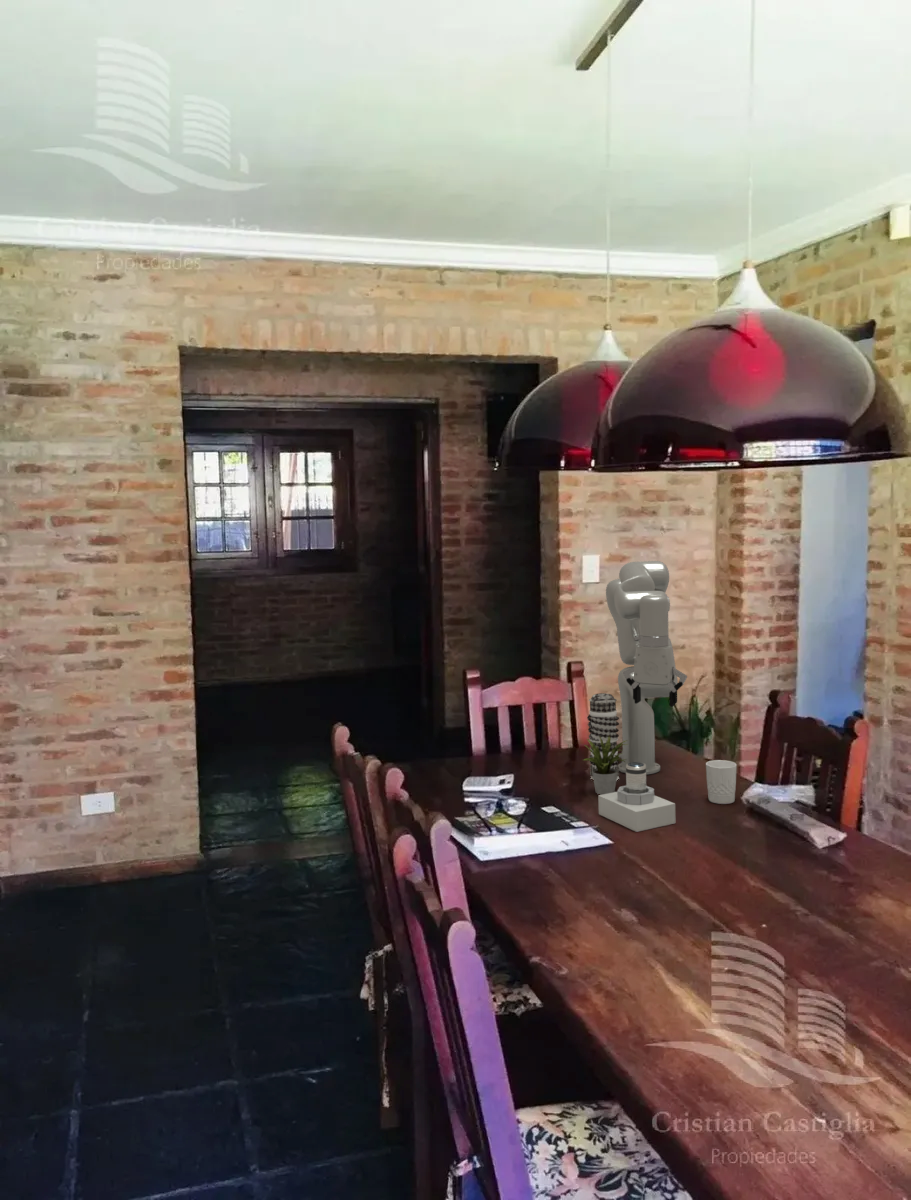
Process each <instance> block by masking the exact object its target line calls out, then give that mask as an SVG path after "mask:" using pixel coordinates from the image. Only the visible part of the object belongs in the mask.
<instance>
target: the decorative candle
mask: <svg viewBox="0 0 911 1200" xmlns="http://www.w3.org/2000/svg"><path fill="white" fill-rule="evenodd" d="M617 700H618V699H617V698H615V697H614V696H613V695H612V694H611V693H608V692H607V693H605V692H604V693H603V692H601V693H595V694H593V695H592V696H591V698H590V699H588V701H589V707H590V708H589V714H587V715H588V716H587V718H586V719H587V721H588V723H587V726H588V729H587V730H588V733H589V735H588V739H589V740H590V741H591V742H592V743H593V744H594V745H595V746H596V748H597V746H598V748H599V752H600V754H601V758H602V760H603V754H602V746H601V740H600V737H601V739H602V741H603V744H604V747H605V744H606V742H607V740H608V736H610V737H611V740H610V743H611V746H610V749H609V750H611V749H613V748H615V747H616V746H617V745H618V741H619V738H618V737H619V734H618V733H619V732H620V730H619V728H617V726H619V725H620V723H619V722H618V720H619V719H620V718H619V717H618V716H617V715H618V714H617V705H616V704H617V703H616V702H617ZM599 736H600V737H599ZM590 749H591V750H592V751H593V749H592V747H591V746H590ZM612 751H613V750H612ZM612 751H611V752H612ZM611 752H609V753H608V756H609V755H610V754H611ZM618 752H619V751H616V753H615V754H614V755H618V754H619V753H618ZM612 755H613V754H612ZM591 757H592V758H594V755H593V754H592V752H591V751H590V755H589V758H591ZM613 757H615V756H613ZM618 757H619V756H618ZM610 759H611V758H610ZM609 761H610V760H609ZM618 762H619V763H620V761H615V762H614V763H613V764H612V765H611V767H610V768H613V769H616V770H617V779H616V782H618V781H619V780H620V777H619V776H620V771H619V766H618V765H619V763H618ZM589 763H590V766H589V769H590V771H589V775H590V777H591V778H590V780H591V779H593V775H592V770H593V769H596V768H597V767H596V765H595V764H594V763H593V762H592V761H589ZM608 763H609V762H608ZM618 779H619V780H618ZM617 780H618V781H617Z"/></svg>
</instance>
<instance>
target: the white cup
mask: <svg viewBox="0 0 911 1200" xmlns="http://www.w3.org/2000/svg"><path fill="white" fill-rule="evenodd" d="M705 773H706V774H705V775H706V787H707V795H708V798H707V799H708V801H709V802H710V803H712V804H713V803H714V804H719V805H720V804H721V805H727V804H732V803H734V802H735V801H736V800H735V799H736V786H737V763H736V762H735V761H732V760H725V759H723V760H721V759H715V760H709V761H707V762H705Z"/></svg>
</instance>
